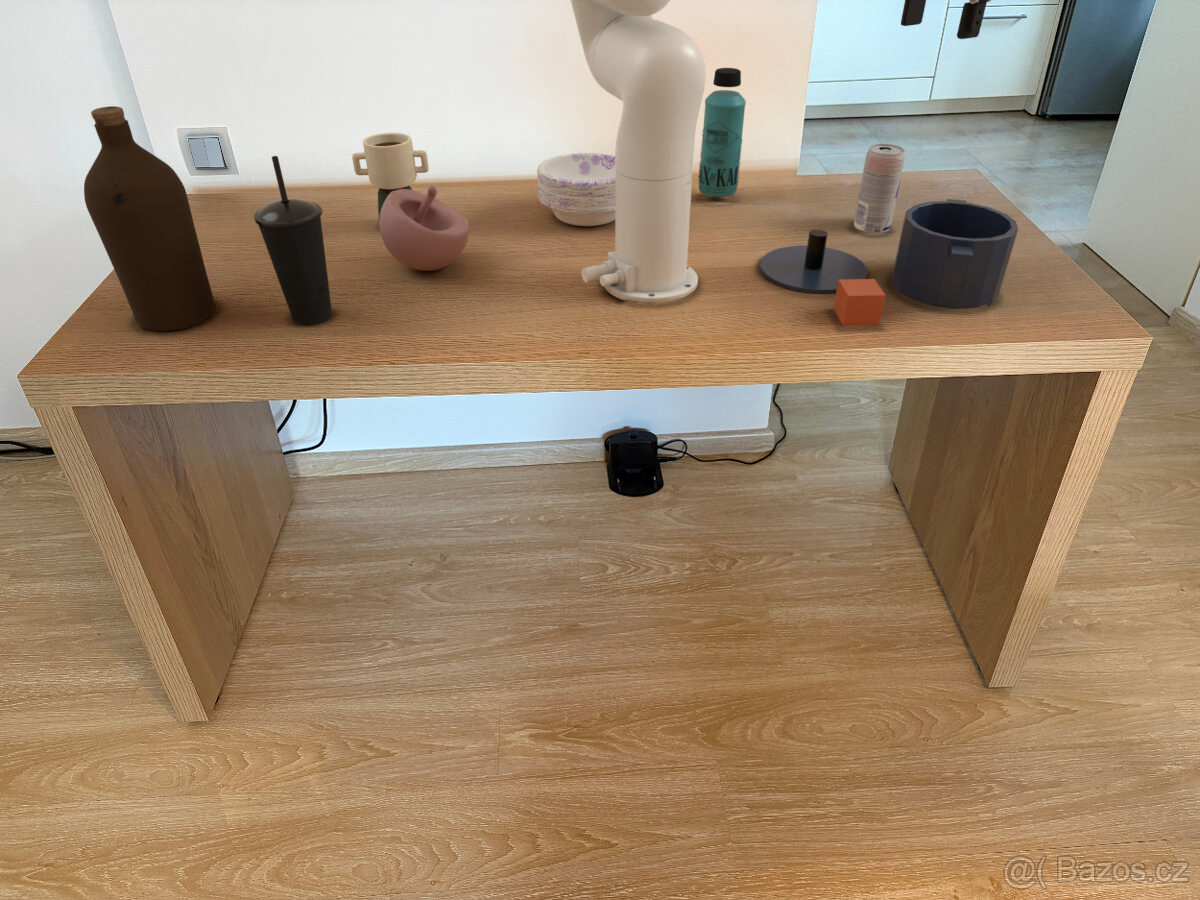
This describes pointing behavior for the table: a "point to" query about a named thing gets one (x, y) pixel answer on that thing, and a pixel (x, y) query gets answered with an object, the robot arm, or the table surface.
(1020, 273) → the table surface
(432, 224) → the mortar and pestle
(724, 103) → the beverage bottle
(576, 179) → the paper bowls
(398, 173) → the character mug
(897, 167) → the energy drink
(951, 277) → the pot
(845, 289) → the block
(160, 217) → the olive oil
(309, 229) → the drinking cup
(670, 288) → the robot arm
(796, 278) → the lid
